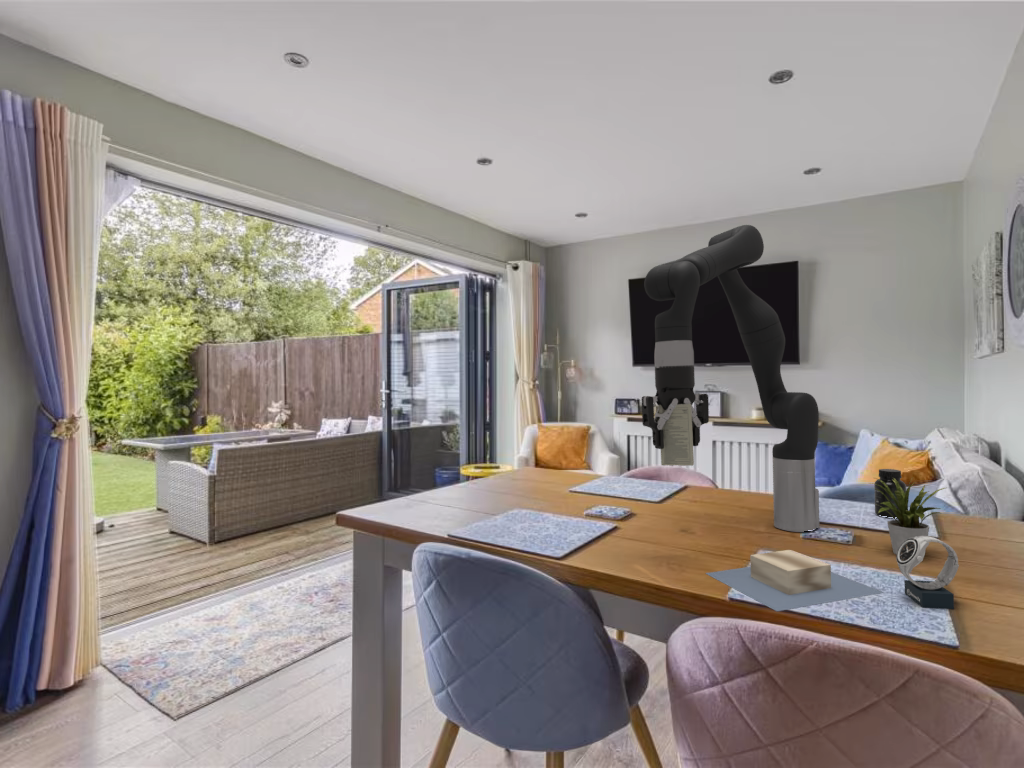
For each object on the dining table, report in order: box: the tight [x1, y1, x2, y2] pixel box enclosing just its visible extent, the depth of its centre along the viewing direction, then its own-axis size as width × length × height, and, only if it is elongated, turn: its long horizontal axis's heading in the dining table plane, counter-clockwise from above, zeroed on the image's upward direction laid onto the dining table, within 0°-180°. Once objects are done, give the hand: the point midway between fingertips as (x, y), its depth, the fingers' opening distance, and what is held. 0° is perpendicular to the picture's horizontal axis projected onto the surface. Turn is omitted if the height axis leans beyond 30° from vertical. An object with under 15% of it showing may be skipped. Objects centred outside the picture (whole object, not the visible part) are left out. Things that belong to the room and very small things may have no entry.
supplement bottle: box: [873, 468, 907, 517], centre depth 144 cm, size 7×7×12 cm
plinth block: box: [749, 549, 832, 595], centre depth 98 cm, size 9×9×4 cm
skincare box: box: [657, 404, 695, 467], centre depth 109 cm, size 6×4×12 cm
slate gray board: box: [705, 566, 885, 612], centre depth 98 cm, size 22×18×1 cm
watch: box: [895, 535, 960, 610], centre depth 88 cm, size 6×8×11 cm
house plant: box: [869, 477, 950, 555], centre depth 114 cm, size 14×14×16 cm
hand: (676, 447), depth 109 cm, fingers closed on skincare box, 7 cm apart
